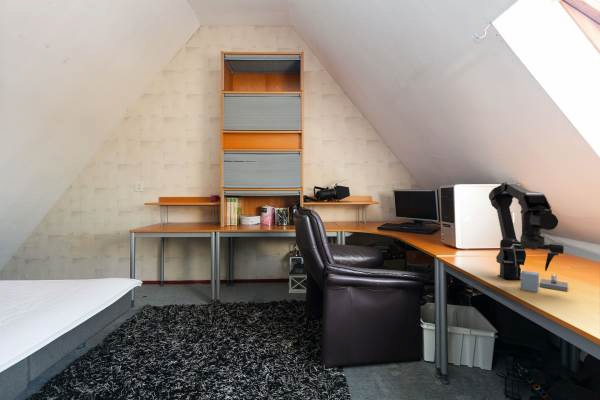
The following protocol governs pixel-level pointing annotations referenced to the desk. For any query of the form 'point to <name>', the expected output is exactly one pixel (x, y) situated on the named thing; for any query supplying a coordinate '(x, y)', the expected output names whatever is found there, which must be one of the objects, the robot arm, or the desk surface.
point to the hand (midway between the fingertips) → (530, 268)
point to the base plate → (554, 284)
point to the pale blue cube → (530, 281)
